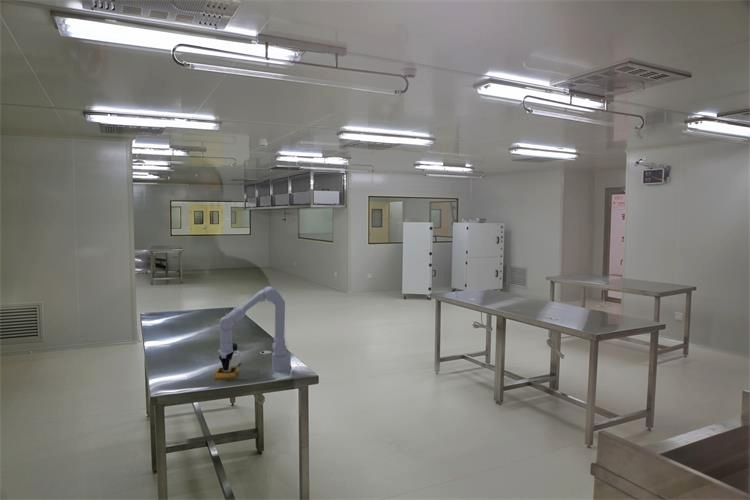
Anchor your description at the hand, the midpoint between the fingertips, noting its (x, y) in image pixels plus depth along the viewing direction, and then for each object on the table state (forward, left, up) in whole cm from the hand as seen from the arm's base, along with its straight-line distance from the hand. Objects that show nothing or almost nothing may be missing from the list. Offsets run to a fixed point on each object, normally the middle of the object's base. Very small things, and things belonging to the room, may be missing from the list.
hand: (226, 368), depth 238 cm
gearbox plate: (-5, 0, -4) cm, 7 cm away
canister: (0, 0, -2) cm, 2 cm away
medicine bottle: (+1, -18, -5) cm, 19 cm away
